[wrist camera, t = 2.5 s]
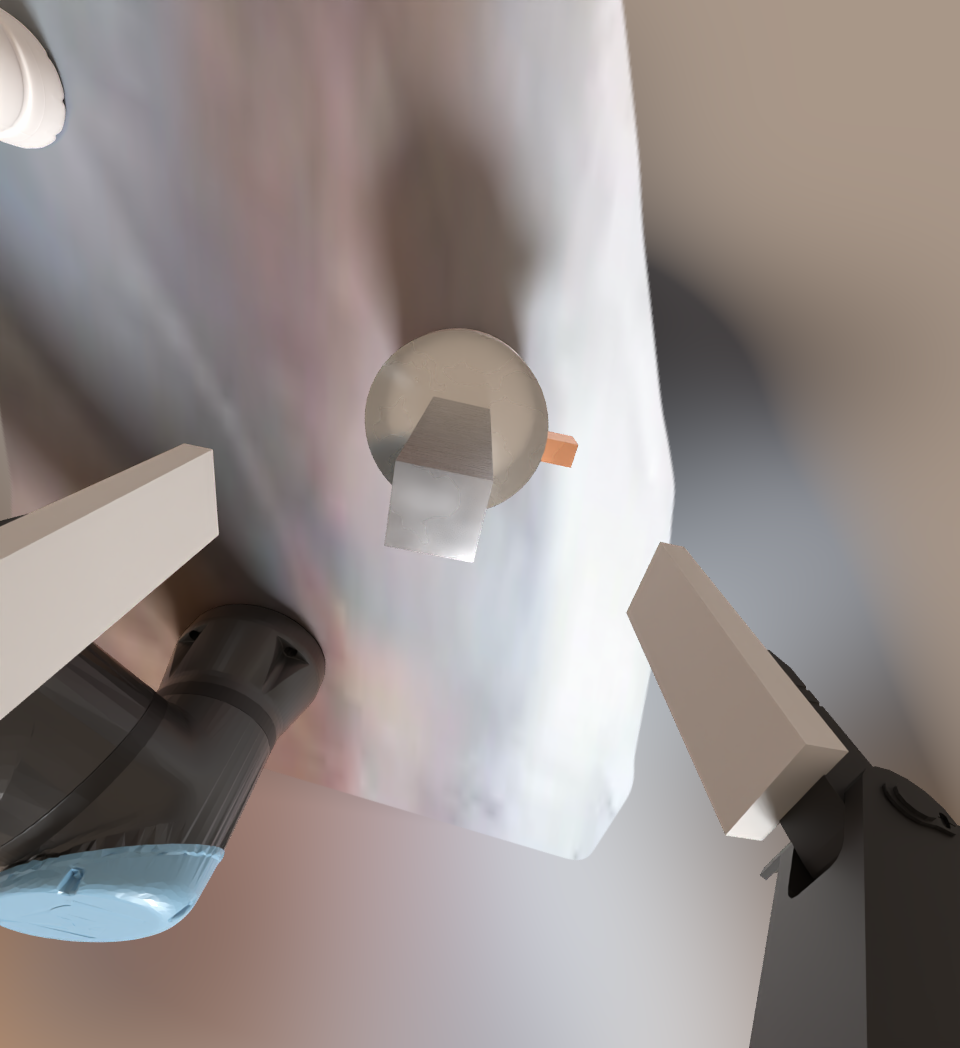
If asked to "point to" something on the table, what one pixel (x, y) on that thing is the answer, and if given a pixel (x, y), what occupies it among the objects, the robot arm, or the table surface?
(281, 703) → the robot arm
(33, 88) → the water bottle
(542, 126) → the table surface
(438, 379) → the lid
